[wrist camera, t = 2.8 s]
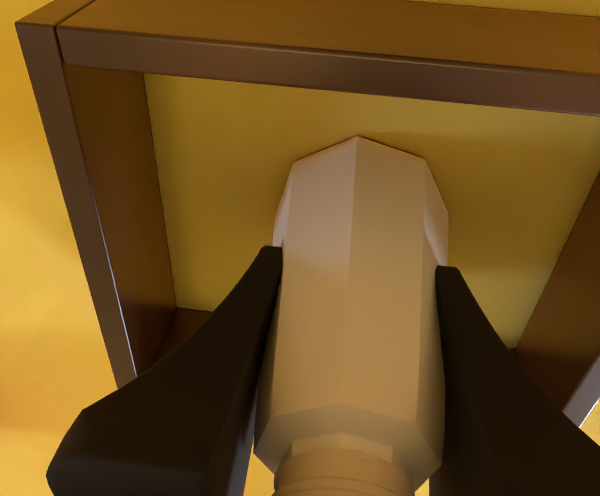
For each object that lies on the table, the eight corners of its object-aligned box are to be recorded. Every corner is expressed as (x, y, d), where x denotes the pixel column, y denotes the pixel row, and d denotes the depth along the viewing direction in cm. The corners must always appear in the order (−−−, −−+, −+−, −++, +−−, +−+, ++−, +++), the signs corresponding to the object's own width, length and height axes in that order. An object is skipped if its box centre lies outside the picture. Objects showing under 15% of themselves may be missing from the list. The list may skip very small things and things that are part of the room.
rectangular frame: (705, 25, 12) (812, 95, 9) (529, 365, 20) (556, 463, 17) (98, -26, 13) (12, 21, 10) (159, 319, 21) (121, 404, 18)
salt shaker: (362, 298, 19) (345, 680, 11) (242, 212, 17) (108, 589, 9) (486, 210, 16) (598, 643, 8) (356, 95, 14) (316, 494, 6)
